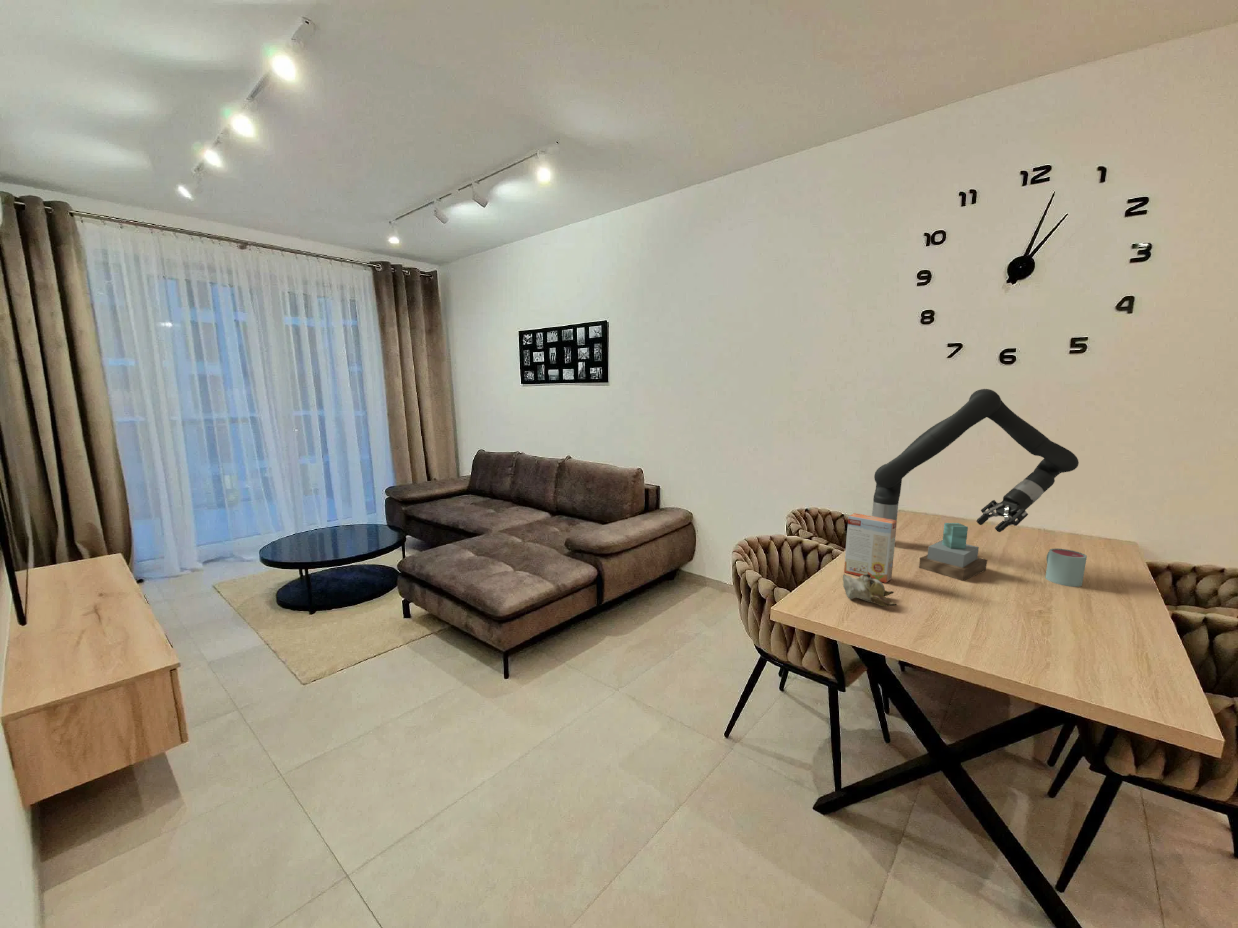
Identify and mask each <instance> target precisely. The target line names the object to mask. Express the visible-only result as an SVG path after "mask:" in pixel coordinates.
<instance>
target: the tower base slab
mask: <svg viewBox="0 0 1238 928" xmlns="http://www.w3.org/2000/svg"><path fill="white" fill-rule="evenodd" d="M927 556H928V554H925V555H923V556H920V557H919V566H918V568H919V569H922V570H925V571H928V572H932V573H935V574H937V575H942V576H944V577H948V578H951V579H954V580H958V581H961V582H963V581H966V580H968V579H970V578H971V577H974V576H977V575H978V574H981V573H983V572H985V571H987V564H988V559H986V558H982V557H977V559H976V560H975V561H973V562H971V563H970V564H968V565H966V566H965V567H963V568H962V567H958V566H954V565H950V564H946V563H943V562H939V561H935V560H931V559H927Z"/></svg>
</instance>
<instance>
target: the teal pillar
mask: <svg viewBox="0 0 1238 928" xmlns="http://www.w3.org/2000/svg"><path fill="white" fill-rule="evenodd" d="M968 530H969V527H968V526H967V525H965V524H961V523H959V522H944V525H943V534H942V535H943V536H942V540H943V542H942V544H943V545H945V546H947V547H949V548H951V549H965V548H966V544H967V537H968Z"/></svg>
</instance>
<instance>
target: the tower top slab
mask: <svg viewBox="0 0 1238 928" xmlns="http://www.w3.org/2000/svg"><path fill="white" fill-rule="evenodd" d="M942 542H943V539H942V540H939V541H938V542H935V543H932V544H931V545H928V549H927V555H928V556H927V559H931V560H935V561H939V562H943V563H946V564H950V565H954V566H958V567H962V568H963V567H965V566H966V565H968V564H970V563H971V562H973V561H975V560H976V559H977V557H978V556H979V549H980V547H979V546H976V545H973V544H968V543H966V548H965V549H951V548H949V547H947V546H945V545H943V544H942ZM978 558H979V557H978Z"/></svg>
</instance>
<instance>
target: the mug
mask: <svg viewBox="0 0 1238 928" xmlns="http://www.w3.org/2000/svg"><path fill="white" fill-rule="evenodd" d="M1087 557H1088V556H1087V555H1086V554H1085V553H1082V552H1081V551H1080V552H1079V551H1076V550H1071V549H1065V548H1050V549H1049V551H1048V552H1047V555H1046V564H1047V565H1046V572H1045V580H1047V581H1049V582H1050V583H1054V584H1056V585H1057V584H1058V585H1060V586H1065V587H1075V588H1078V587H1082V586H1083V581H1084V576H1085V570H1086V564H1087Z"/></svg>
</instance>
